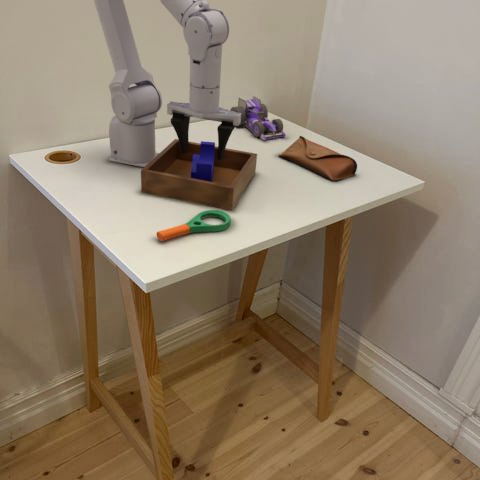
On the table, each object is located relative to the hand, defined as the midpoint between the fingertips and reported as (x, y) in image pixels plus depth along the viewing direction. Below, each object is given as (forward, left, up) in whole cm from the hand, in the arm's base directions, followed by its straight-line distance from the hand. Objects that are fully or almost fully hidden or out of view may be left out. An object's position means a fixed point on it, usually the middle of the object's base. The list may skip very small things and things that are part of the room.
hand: (202, 154), depth 106 cm
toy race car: (+3, +38, -6) cm, 38 cm away
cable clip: (0, 0, -6) cm, 6 cm away
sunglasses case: (+21, +21, -6) cm, 30 cm away
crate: (0, 0, -6) cm, 6 cm away
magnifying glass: (+5, -20, -6) cm, 21 cm away
